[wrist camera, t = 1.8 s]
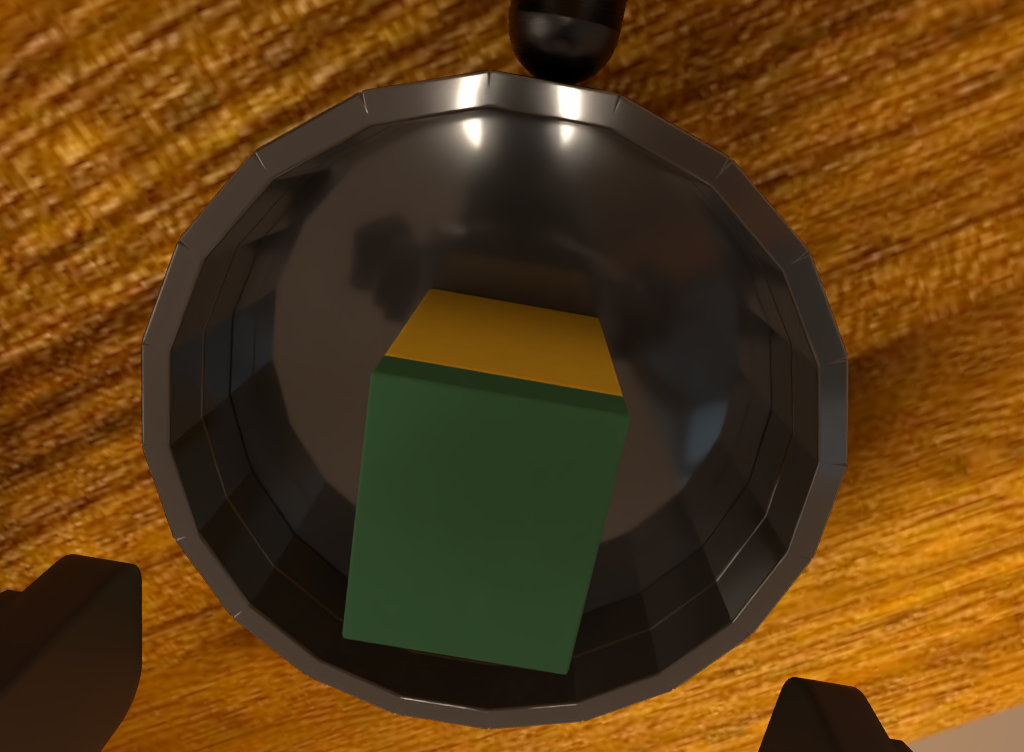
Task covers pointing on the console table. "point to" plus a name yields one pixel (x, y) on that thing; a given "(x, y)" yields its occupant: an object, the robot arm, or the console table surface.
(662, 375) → the skillet
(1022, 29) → the console table surface
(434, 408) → the sponge
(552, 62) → the skillet handle
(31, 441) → the console table surface
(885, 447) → the console table surface
